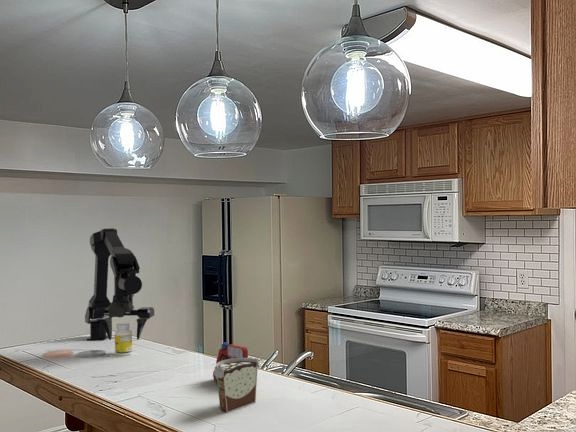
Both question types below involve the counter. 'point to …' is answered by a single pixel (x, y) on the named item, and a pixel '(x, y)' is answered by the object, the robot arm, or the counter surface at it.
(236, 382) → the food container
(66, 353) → the terracotta coaster
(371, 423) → the counter surface
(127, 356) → the sage coaster
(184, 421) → the counter surface
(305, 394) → the counter surface
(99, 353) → the slate coaster
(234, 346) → the toy fire truck
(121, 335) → the supplement bottle
